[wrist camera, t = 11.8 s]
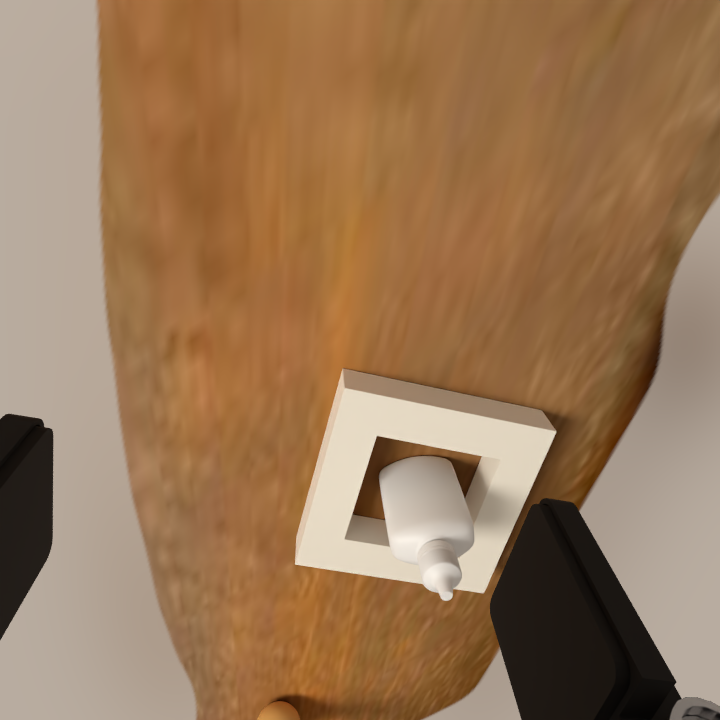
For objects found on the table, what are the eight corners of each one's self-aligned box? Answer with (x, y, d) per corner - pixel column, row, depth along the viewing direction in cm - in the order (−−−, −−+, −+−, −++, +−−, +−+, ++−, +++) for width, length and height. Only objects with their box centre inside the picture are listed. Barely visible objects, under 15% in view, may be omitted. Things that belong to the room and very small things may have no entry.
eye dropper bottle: (437, 505, 46) (474, 632, 35) (370, 487, 45) (387, 612, 34) (460, 460, 45) (506, 579, 34) (392, 440, 44) (416, 556, 33)
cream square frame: (342, 368, 41) (344, 387, 38) (541, 410, 43) (556, 431, 41) (296, 536, 47) (295, 564, 44) (474, 565, 49) (483, 593, 46)
